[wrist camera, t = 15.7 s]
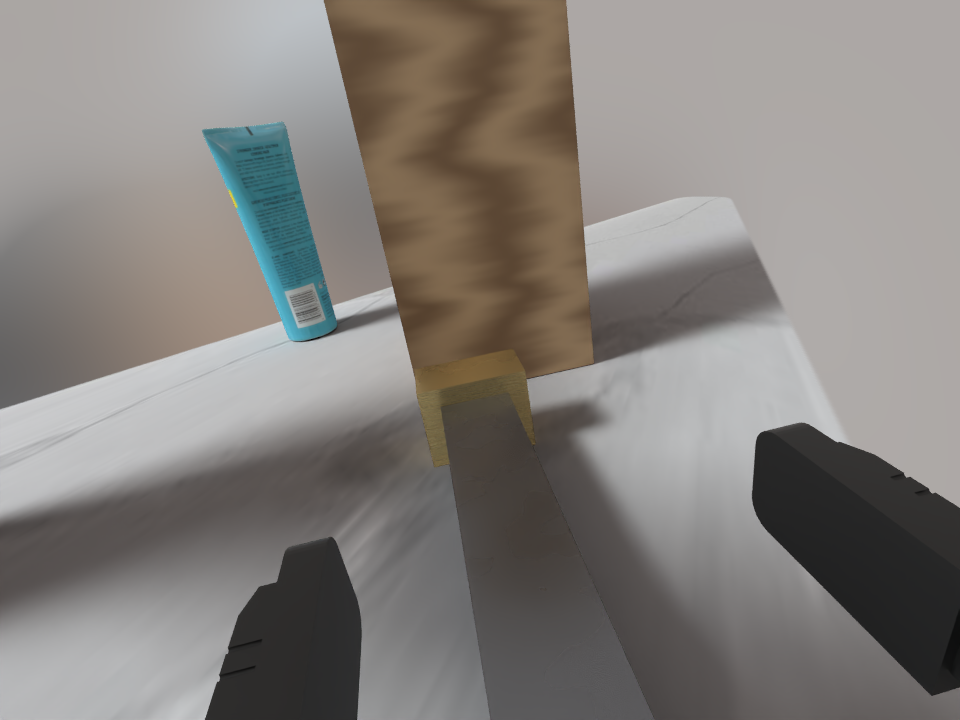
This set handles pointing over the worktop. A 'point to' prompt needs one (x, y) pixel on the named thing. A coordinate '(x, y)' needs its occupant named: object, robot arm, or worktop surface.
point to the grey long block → (521, 553)
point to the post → (472, 173)
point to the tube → (275, 222)
